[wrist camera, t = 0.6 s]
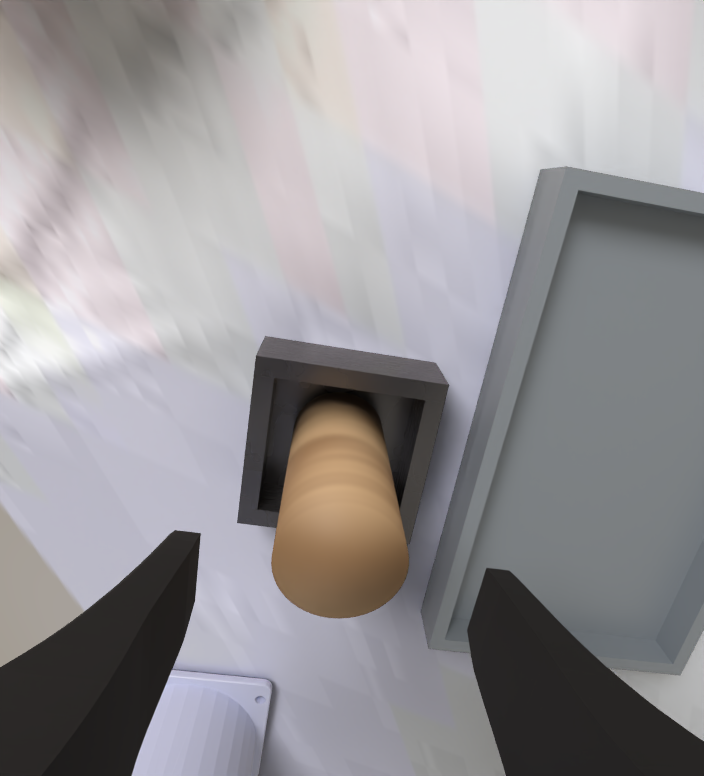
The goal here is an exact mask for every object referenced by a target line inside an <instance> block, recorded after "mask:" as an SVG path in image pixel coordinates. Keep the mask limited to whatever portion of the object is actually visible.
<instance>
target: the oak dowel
mask: <svg viewBox="0 0 704 776" xmlns="http://www.w3.org/2000/svg"><path fill="white" fill-rule="evenodd" d="M271 564H272V572H273V576H274V579H275V582H276V584H277V586H278V587H279V589H280V591H281V592H282V593H283V594H284V596H285V597H286V598H287V599H288V600H289V601H291V602H292V603H293V604H294V605H296V606H297V607H299V608H301V609H302V610H304V611H306V612H309V613H311V614H314V615H318V616H322V617H328V618H350V617H356V616H360V615H364V614H367V613H369V612H372V611H374V610H376V609H378V608H380V607H381V606H383V605H384V604H386V603H387V602H388V601H389V600H390V599H392V598H393V597H394V596H395V594H396V593H397V592H398V591H399V589H400V588H401V586H402V585H403V583H404V581H405V579H406V576H407V573H408V567H409V554H408V548H407V544H406V539H405V534H404V529H403V524H402V520H401V515H400V510H399V505H398V501H397V496H396V491H395V486H394V481H393V477H392V472H391V467H390V462H389V458H388V453H387V448H386V443H385V438H384V434H383V429H382V424H381V421H380V418H379V416H378V414H377V412H376V411H375V409H374V408H373V407H372V406H371V405H370V404H369V403H368V402H367V401H365V400H364V399H362V398H360V397H358V396H356V395H353V394H349V393H343V392H333V393H327V394H324V395H321V396H318V397H316V398H314V399H313V400H311V401H310V402H309V403H307V404H306V405H305V406H304V407H303V408H302V410H301V411H300V412H299V414H298V416H297V418H296V421H295V424H294V429H293V435H292V441H291V447H290V453H289V459H288V465H287V470H286V476H285V482H284V488H283V494H282V500H281V506H280V511H279V517H278V523H277V529H276V535H275V541H274V547H273V552H272V562H271Z"/></svg>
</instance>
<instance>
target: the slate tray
mask: <svg viewBox="0 0 704 776" xmlns="http://www.w3.org/2000/svg"><path fill="white" fill-rule="evenodd" d="M486 568H493V569H502V570H509V571H511V572H512V573H513V574H514V575H515V576H516V577H517V578H518V579H519V580H520V581H521V582H522V583H523V584H524V585H525V586H526V587H527V588H528V589H529V591H530V592H531V593H532V594H533V595H534V596H535V597H536V598H537V599H538V600H539V601H540V602H541V603H542V604H543V605H544V606H545V607H546V608H547V609H548V610H549V611H550V613H551V614H552V615H553V616H554V617H555V618H556V619H557V620H558V621H559V622H560V623H561V624H562V625H563V626H564V627H565V628H566V629H567V630H568V631H569V632H570V633H571V634H572V635H573V636H574V637H575V638H576V639H577V640H578V641H579V642H580V643H581V644H582V645H583V646H584V647H586V648H587V649H588V650H589V651H590V652H591V653H592V654H593V655H594V656H595V657H596V658H597V659H599V660H600V661H601V662H602V663H603V664H604V665H605V666H606V667H607V668H615V669H624V670H634V671H643V672H653V673H662V674H671V675H681V673H682V671H683V669H684V667H685V665H686V663H687V661H688V659H689V657H690V655H691V653H692V651H693V649H694V648H695V646H696V644H697V642H698V640H699V638H700V636H701V634H702V632H703V630H704V193H700V192H695V191H690V190H685V189H680V188H675V187H669V186H664V185H659V184H654V183H649V182H644V181H639V180H633V179H628V178H623V177H618V176H613V175H608V174H603V173H597V172H592V171H587V170H582V169H577V168H572V167H567V166H566V167H558V168H550V169H542V170H540V174H539V177H538V181H537V185H536V188H535V192H534V196H533V200H532V203H531V207H530V211H529V214H528V218H527V222H526V225H525V229H524V233H523V236H522V240H521V244H520V248H519V251H518V255H517V259H516V262H515V266H514V270H513V273H512V277H511V281H510V284H509V288H508V292H507V296H506V299H505V303H504V307H503V310H502V314H501V318H500V321H499V325H498V329H497V332H496V336H495V340H494V343H493V347H492V351H491V355H490V358H489V362H488V366H487V369H486V373H485V377H484V380H483V384H482V388H481V391H480V395H479V399H478V403H477V406H476V410H475V414H474V417H473V421H472V425H471V428H470V432H469V436H468V439H467V443H466V447H465V450H464V454H463V458H462V462H461V465H460V469H459V473H458V476H457V480H456V484H455V487H454V491H453V495H452V498H451V502H450V506H449V510H448V513H447V517H446V521H445V524H444V528H443V532H442V535H441V539H440V543H439V546H438V550H437V554H436V557H435V561H434V565H433V569H432V572H431V576H430V580H429V583H428V587H427V591H426V594H425V598H424V602H423V605H422V609H421V615H422V620H423V625H424V630H425V634H426V639H427V644H428V649H435V650H444V651H454V652H463V653H471V652H470V646H469V640H468V633H467V628H468V625H469V622H470V619H471V616H472V612H473V609H474V606H475V603H476V599H477V596H478V593H479V590H480V587H481V583H482V580H483V577H484V574H485V571H486Z"/></svg>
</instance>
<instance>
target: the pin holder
mask: <svg viewBox="0 0 704 776" xmlns="http://www.w3.org/2000/svg"><path fill="white" fill-rule="evenodd" d="M448 387H449V384H448V382H447V381H446V379H445V378H444V376H443V374H442V373H441V371H440V369H439V368H438V366H437V364H436V363H434V362H427V361H421V360H414V359H408V358H401V357H395V356H389V355H382V354H376V353H369V352H363V351H356V350H350V349H344V348H337V347H331V346H324V345H318V344H311V343H305V342H299V341H292V340H286V339H279V338H273V337H267V336H265V338H264V340H263V342H262V344H261V346H260V349H259V351H258V353H257V355H256V361H255V370H254V379H253V388H252V396H251V405H250V414H249V423H248V432H247V441H246V449H245V458H244V467H243V476H242V485H241V494H240V502H239V511H238V520H237V523H242V524H250V525H258V526H266V527H274V528H277V523H278V517H279V511H280V506H281V500H282V494H283V488H284V482H285V476H286V470H287V465H288V459H289V453H290V447H291V441H292V435H293V429H294V424H295V421H296V418H297V416H298V414H299V412H300V411H301V410H302V408H303V407H304V406H305V405H306V404H307V403H309V402H310V401H311V400H313V399H314V398H316V397H318V396H321V395H324V394H327V393H333V392H343V393H349V394H353V395H356V396H358V397H360V398H362V399H364V400H365V401H367V402H368V403H369V404H370V405H371V406H372V407H373V408H374V409H375V411H376V412H377V414H378V416H379V418H380V421H381V424H382V429H383V434H384V438H385V443H386V448H387V453H388V458H389V462H390V467H391V472H392V477H393V481H394V486H395V491H396V496H397V501H398V505H399V510H400V515H401V520H402V524H403V529H404V534H405V539H406V544H410V540H411V536H412V532H413V528H414V524H415V520H416V516H417V512H418V508H419V504H420V500H421V496H422V492H423V488H424V484H425V480H426V476H427V472H428V467H429V463H430V459H431V455H432V451H433V447H434V443H435V439H436V435H437V431H438V427H439V423H440V419H441V415H442V411H443V407H444V403H445V399H446V395H447V391H448Z"/></svg>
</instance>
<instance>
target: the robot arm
mask: <svg viewBox="0 0 704 776" xmlns="http://www.w3.org/2000/svg"><path fill="white" fill-rule="evenodd" d="M200 535H201V533H193V532H185V531H177V530H175V531H174V532H172V533H171V534H169V536H168V537H167V538H166V539H165V540H164V541H163V542H162V543H161V544H160V545H159V546H158V547H157V548H156V549H155V550H154V551H153V552H152V553H151V554H150V555H149V556H148V557H147V558H146V559H145V560H144V561H143V562H142V563H141V564H140V565H139V566H137V567H136V568H135V569H134V570H133V571H132V572H131V573H130V574H129V575H128V576H126V577H125V578H124V579H123V580H122V581H121V582H120V583H119V584H118V585H116V586H115V587H114V588H113V589H112V590H111V591H109V592H108V593H107V594H106V595H104V596H103V597H102V598H101V599H100V600H98V601H97V602H96V603H95V604H93V605H92V606H91V607H90V608H89V609H87V610H86V611H85V612H83V614H81V615H80V616H78V617H77V618H75V619H74V620H73V621H72V622H70V623H69V624H67V625H66V626H65V627H63V628H62V629H60V630H59V631H57V632H56V633H54V634H53V635H52V636H50V637H49V638H47V639H46V640H44V641H43V642H41V643H40V644H38V645H36V646H35V647H33V648H31V649H30V650H28V651H27V652H25V653H23V654H22V655H20V656H18V657H17V658H15V659H14V660H12V661H10V662H9V663H7V664H5V665H3V666H2V667H0V776H258V774H259V768H260V762H261V756H262V749H263V743H264V737H265V731H266V724H267V718H268V712H269V706H270V699H271V693H272V684H271V682H270V681H268V680H266V679H260V678H250V677H240V676H229V675H219V674H209V673H199V672H188V671H178V670H172V668H173V666H174V663H175V661H176V658H177V656H178V653H179V651H180V648H181V646H182V643H183V641H184V637H185V634H186V630H187V627H188V624H189V620H190V616H191V613H192V609H193V606H194V602H195V593H196V582H197V570H198V558H199V546H200ZM467 633H468V640H469V646H470V652H471V657H472V662H473V668H474V672H475V675H476V679H477V682H478V686H479V689H480V692H481V695H482V699H483V702H484V705H485V709H486V712H487V715H488V718H489V721H490V725H491V728H492V731H493V734H494V737H495V741H496V744H497V747H498V750H499V753H500V757H501V760H502V763H503V766H504V770H505V774H506V776H704V741H702V740H701V739H699V738H698V737H696V736H695V735H693V734H692V733H691V732H689V731H688V730H686V729H685V728H684V727H682V726H681V725H679V724H678V723H677V722H675V721H674V720H672V719H671V718H670V717H668V716H667V715H665V714H664V713H663V712H661V711H660V710H659V709H657V708H656V707H655V706H653V705H652V704H651V703H649V702H648V701H647V700H646V699H644V698H643V697H642V696H641V695H640V694H638V693H637V692H636V691H635V690H633V689H632V688H631V687H630V686H628V685H627V684H626V683H625V682H624V681H622V680H621V679H620V678H619V677H618V676H616V675H615V674H614V673H613V672H612V671H611V670H610V669H608V668H607V667H606V666H605V665H604V664H603V663H602V662H601V661H600V660H599V659H597V658H596V657H595V656H594V655H593V654H592V653H591V652H590V651H589V650H588V649H587V648H586V647H584V646H583V645H582V644H581V643H580V642H579V641H578V640H577V639H576V638H575V637H574V636H573V635H572V634H571V633H570V632H569V631H568V630H567V629H566V628H565V627H564V626H563V625H562V624H561V623H560V622H559V621H558V620H557V619H556V618H555V617H554V616H553V615H552V614H551V613H550V611H549V610H548V609H547V608H546V607H545V606H544V605H543V604H542V603H541V602H540V601H539V600H538V599H537V598H536V597H535V596H534V595H533V594H532V593H531V592H530V591H529V589H528V588H527V587H526V586H525V585H524V584H523V583H522V582H521V581H520V580H519V579H518V578H517V577H516V576H515V575H514V574H513V573H512V572H511V571H509V570H502V569H493V568H486V571H485V574H484V577H483V580H482V583H481V587H480V590H479V593H478V596H477V599H476V603H475V606H474V609H473V612H472V616H471V619H470V622H469V625H468V628H467ZM260 696H262V697H260Z"/></svg>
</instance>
